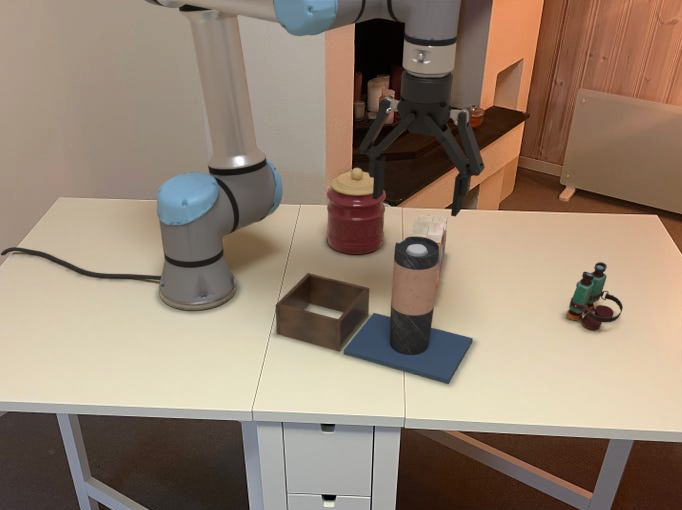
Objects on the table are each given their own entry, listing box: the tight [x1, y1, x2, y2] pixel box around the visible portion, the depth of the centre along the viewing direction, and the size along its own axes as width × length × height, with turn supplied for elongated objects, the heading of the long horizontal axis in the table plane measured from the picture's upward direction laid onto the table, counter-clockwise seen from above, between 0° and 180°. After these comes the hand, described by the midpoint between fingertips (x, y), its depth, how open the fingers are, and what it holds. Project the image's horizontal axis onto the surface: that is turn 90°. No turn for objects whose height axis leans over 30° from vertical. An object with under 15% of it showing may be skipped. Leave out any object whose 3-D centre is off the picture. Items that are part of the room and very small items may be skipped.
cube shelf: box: [275, 272, 371, 352], centre depth 143 cm, size 13×13×6 cm
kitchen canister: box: [326, 167, 387, 255], centre depth 167 cm, size 13×13×18 cm
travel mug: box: [389, 236, 439, 355], centre depth 132 cm, size 8×8×20 cm
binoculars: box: [565, 261, 624, 331], centre depth 144 cm, size 9×11×10 cm
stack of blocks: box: [409, 214, 448, 295], centre depth 157 cm, size 21×6×12 cm, turn 167°
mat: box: [343, 312, 474, 385], centre depth 139 cm, size 20×14×1 cm
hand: (416, 204), depth 124 cm, fingers open, 13 cm apart
